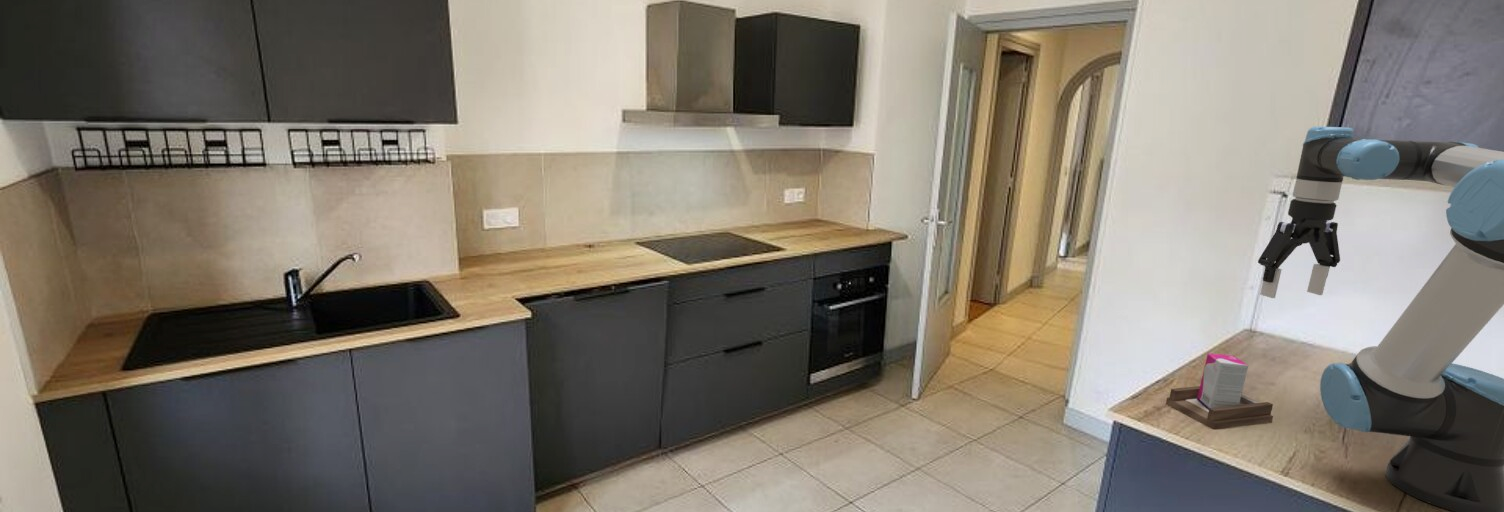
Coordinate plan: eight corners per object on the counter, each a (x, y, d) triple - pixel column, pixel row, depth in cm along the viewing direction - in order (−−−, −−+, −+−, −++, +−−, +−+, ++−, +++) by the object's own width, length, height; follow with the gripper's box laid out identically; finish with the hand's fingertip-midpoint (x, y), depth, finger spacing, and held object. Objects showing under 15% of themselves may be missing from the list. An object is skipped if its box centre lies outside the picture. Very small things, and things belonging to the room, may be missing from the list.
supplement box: (1238, 413, 140) (1249, 365, 138) (1208, 410, 141) (1219, 362, 139) (1224, 401, 146) (1234, 354, 143) (1195, 399, 147) (1205, 352, 144)
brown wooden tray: (1271, 422, 141) (1275, 405, 140) (1213, 429, 137) (1217, 412, 136) (1221, 397, 152) (1224, 382, 151) (1165, 403, 148) (1169, 387, 147)
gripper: (1338, 196, 144) (1315, 287, 149) (1251, 198, 138) (1230, 292, 143) (1377, 202, 137) (1352, 297, 142) (1287, 203, 131) (1264, 302, 136)
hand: (1291, 295), depth 142 cm, fingers open, 13 cm apart
